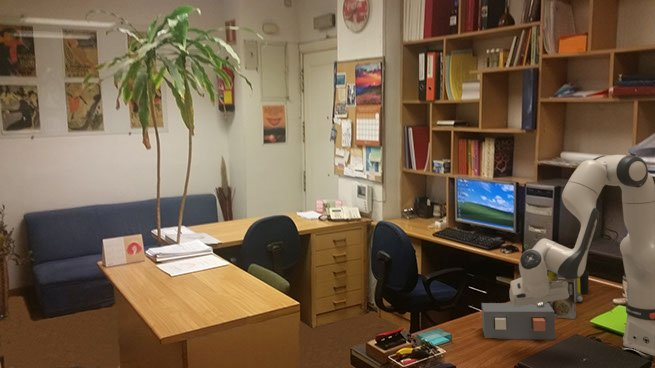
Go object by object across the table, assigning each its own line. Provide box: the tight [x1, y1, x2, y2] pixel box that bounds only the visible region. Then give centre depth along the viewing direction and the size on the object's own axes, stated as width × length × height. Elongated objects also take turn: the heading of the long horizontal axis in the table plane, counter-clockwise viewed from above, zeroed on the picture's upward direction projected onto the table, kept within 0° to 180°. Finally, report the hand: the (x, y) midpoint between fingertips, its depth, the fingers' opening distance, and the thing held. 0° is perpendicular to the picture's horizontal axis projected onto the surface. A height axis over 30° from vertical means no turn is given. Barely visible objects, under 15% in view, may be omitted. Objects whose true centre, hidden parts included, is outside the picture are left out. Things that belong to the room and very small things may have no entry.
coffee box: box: [551, 277, 577, 320], centre depth 233 cm, size 9×6×16 cm
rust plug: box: [531, 317, 545, 331], centre depth 212 cm, size 11×4×4 cm, turn 169°
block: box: [481, 302, 556, 340], centre depth 217 cm, size 10×26×11 cm, turn 79°
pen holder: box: [581, 270, 590, 296], centre depth 263 cm, size 9×9×10 cm
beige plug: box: [494, 317, 506, 330], centre depth 216 cm, size 11×4×4 cm, turn 169°
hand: (541, 305), depth 203 cm, fingers closed
